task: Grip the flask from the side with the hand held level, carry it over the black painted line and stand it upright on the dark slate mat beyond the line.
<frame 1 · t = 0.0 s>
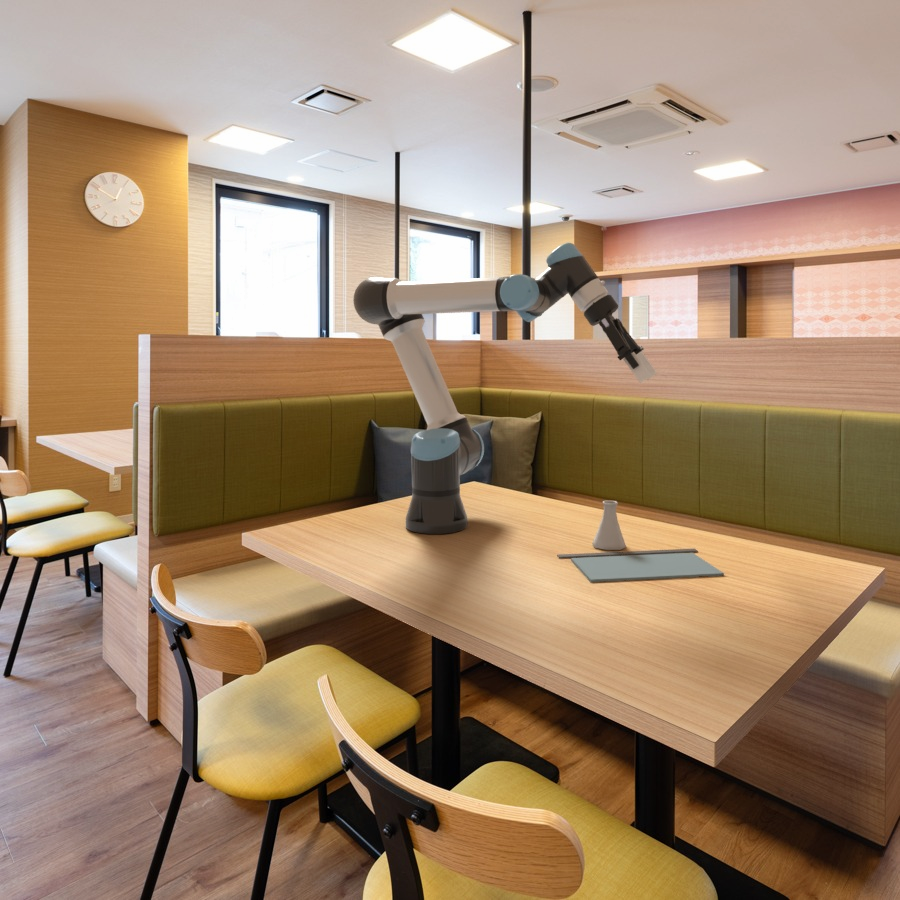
hand: (649, 378, 154), 36 cm above the table, tool tilted 35°, fingers open, 13 cm apart
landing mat: (644, 567, 133), on the table
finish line: (627, 554, 142), on the table
flask: (608, 547, 147), on the table
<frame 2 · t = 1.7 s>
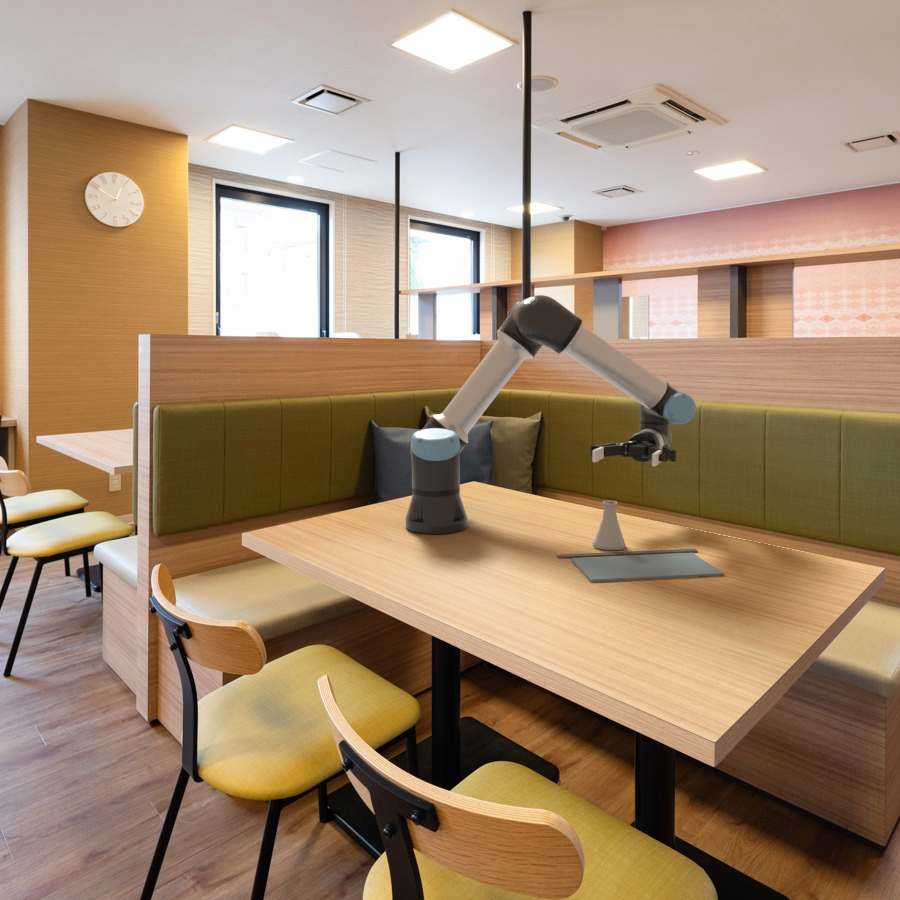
hand: (623, 458, 153), 18 cm above the table, tool horizontal, fingers open, 13 cm apart
nothing on the table moved.
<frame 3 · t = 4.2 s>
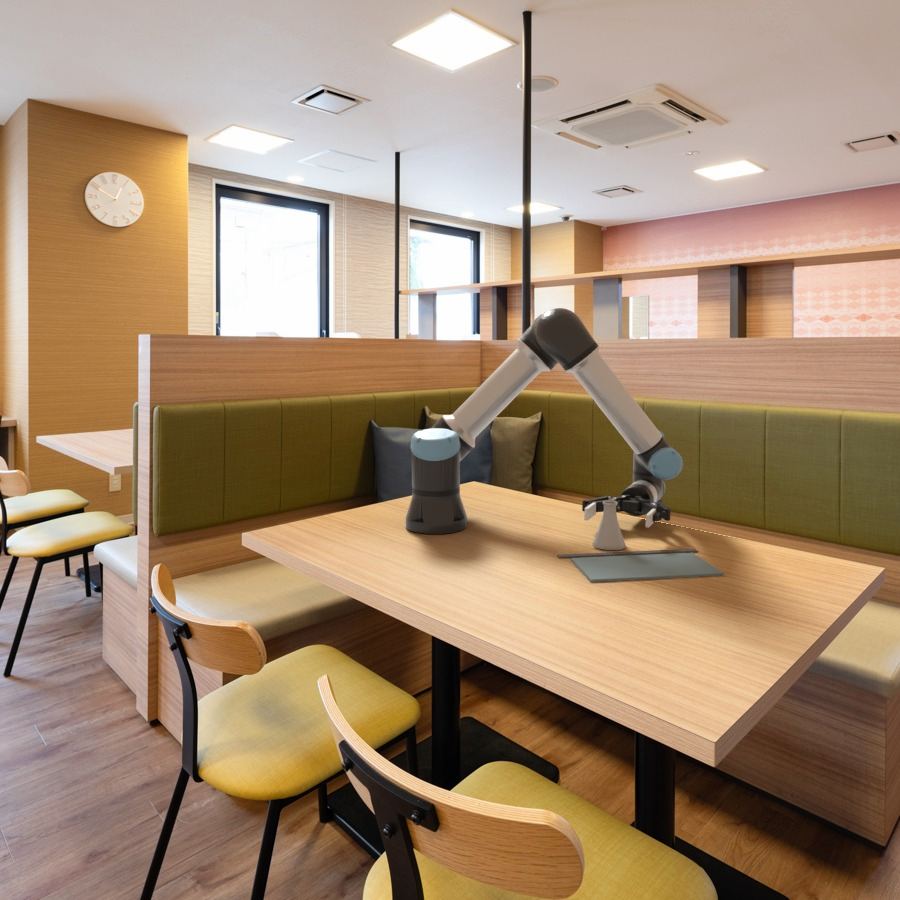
hand: (616, 517, 148), 6 cm above the table, tool horizontal, fingers open, 13 cm apart
nothing on the table moved.
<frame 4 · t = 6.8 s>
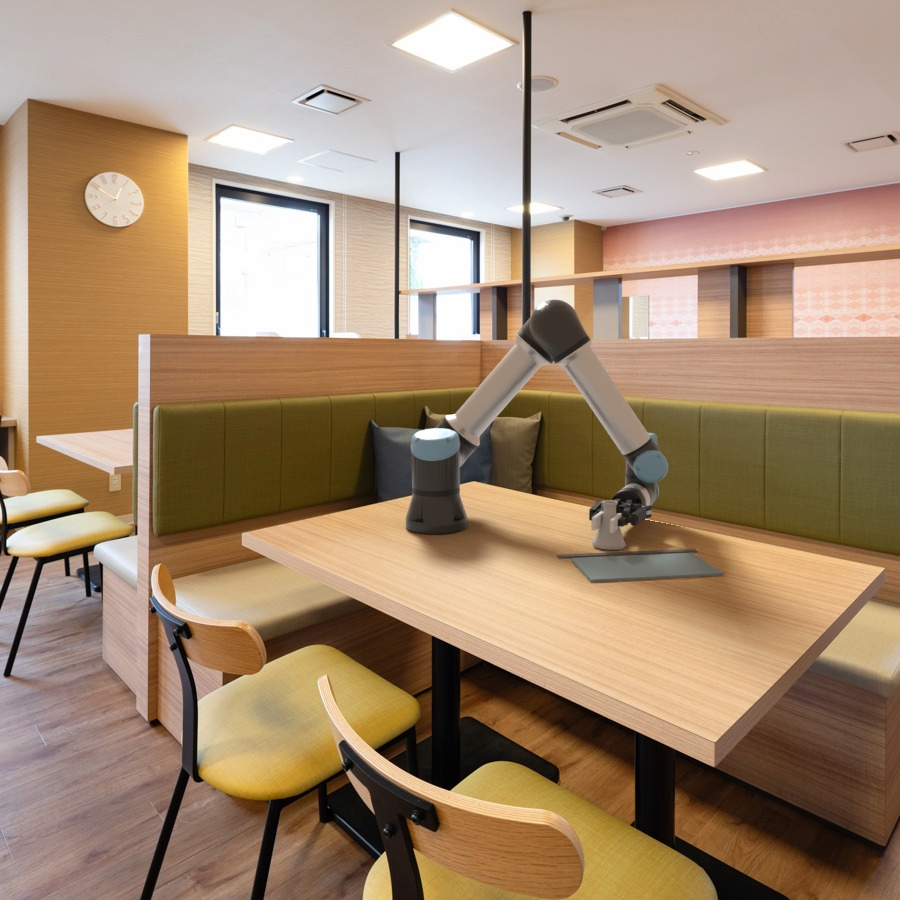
hand: (602, 525, 142), 6 cm above the table, tool horizontal, fingers closed on flask, 3 cm apart
flask: (608, 547, 147), on the table, touching gripper
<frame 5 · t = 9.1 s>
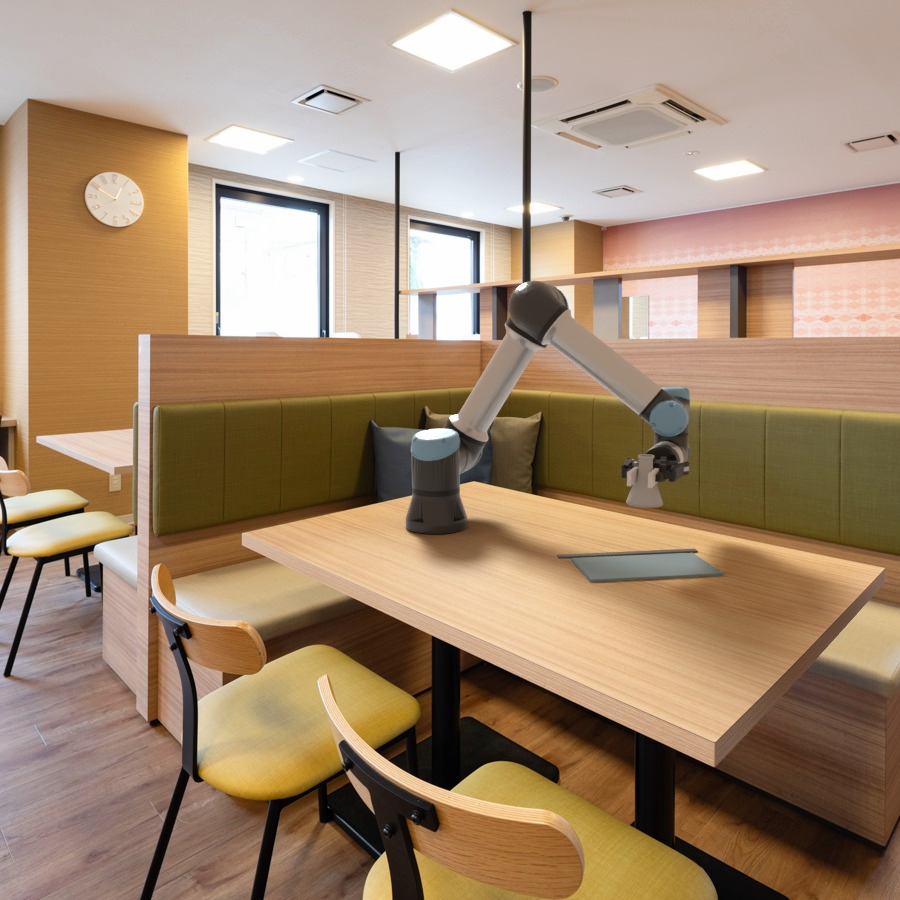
hand: (639, 480, 128), 18 cm above the table, tool horizontal, fingers closed on flask, 3 cm apart
flask: (644, 505, 133), point 12 cm above the table, touching gripper
when the fingers open (8 cm above the table, at t = 11.8 s): flask drops 1 cm, resting on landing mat.
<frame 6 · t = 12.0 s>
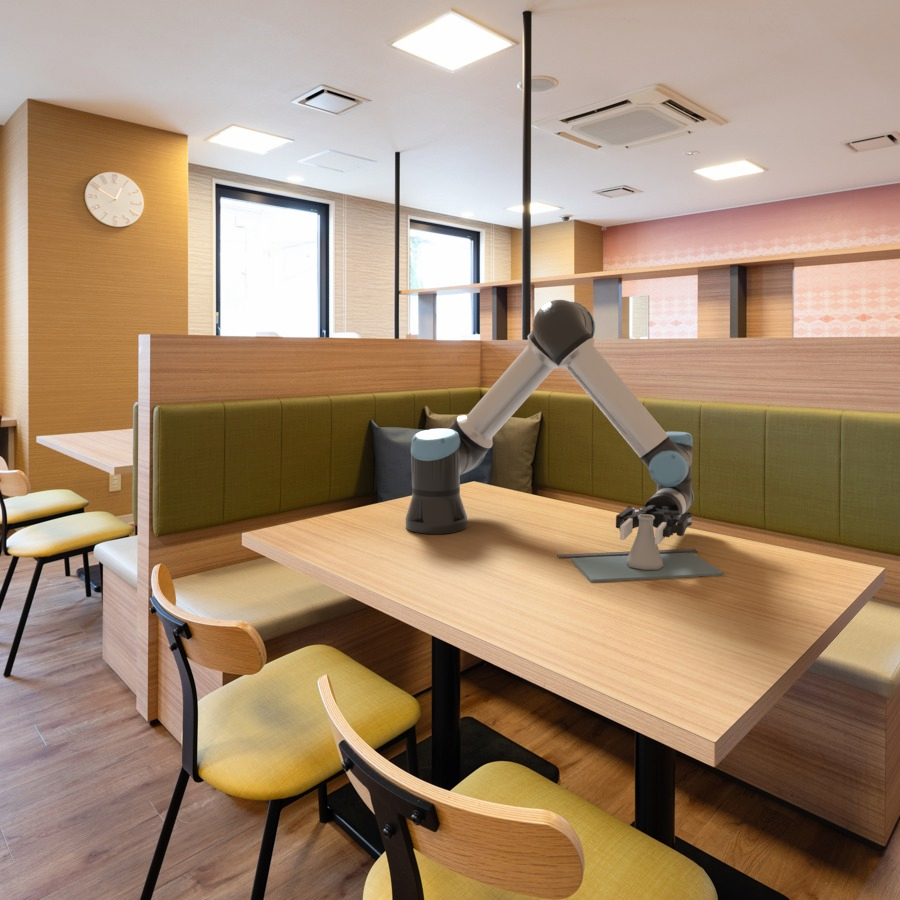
hand: (639, 535, 127), 8 cm above the table, tool horizontal, fingers open, 6 cm apart
flask: (644, 566, 133), resting on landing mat
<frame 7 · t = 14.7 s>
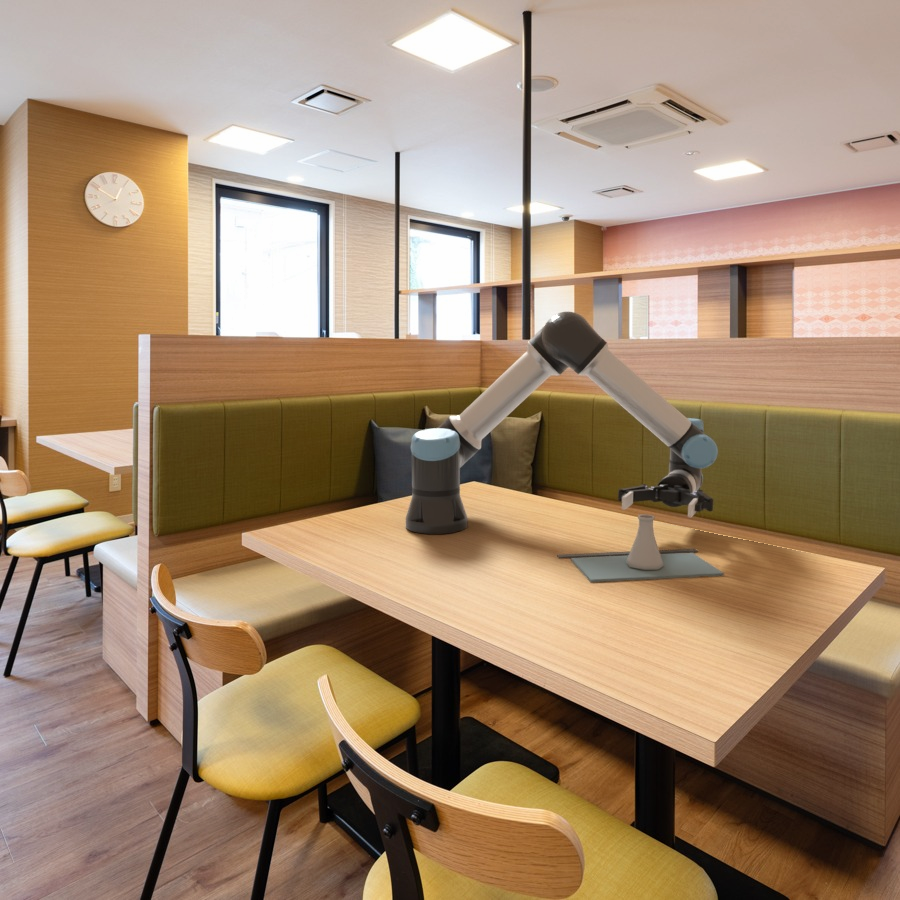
hand: (655, 507, 141), 10 cm above the table, tool horizontal, fingers open, 13 cm apart
nothing on the table moved.
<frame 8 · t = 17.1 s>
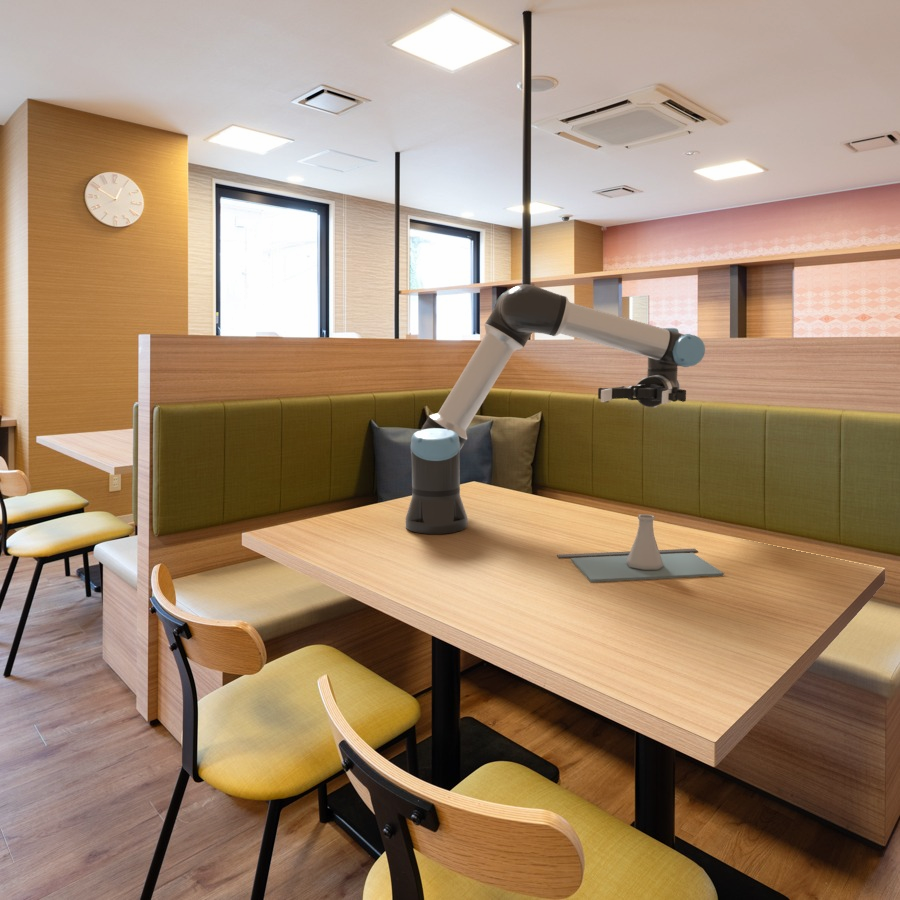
hand: (632, 396, 150), 32 cm above the table, tool horizontal, fingers open, 13 cm apart
nothing on the table moved.
at the end: flask inside the target area (0.5 cm from its centre), resting on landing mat; flask tilted 0°; the gripper is holding nothing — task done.
